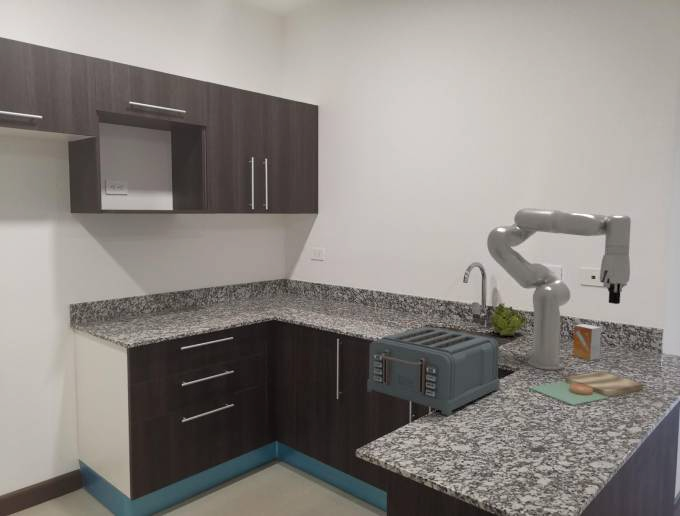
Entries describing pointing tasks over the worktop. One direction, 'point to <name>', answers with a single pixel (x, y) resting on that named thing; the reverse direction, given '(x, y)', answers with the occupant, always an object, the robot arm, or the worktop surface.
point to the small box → (587, 341)
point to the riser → (606, 383)
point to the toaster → (434, 367)
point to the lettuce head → (506, 321)
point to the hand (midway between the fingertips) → (614, 303)
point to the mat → (566, 393)
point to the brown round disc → (580, 389)
